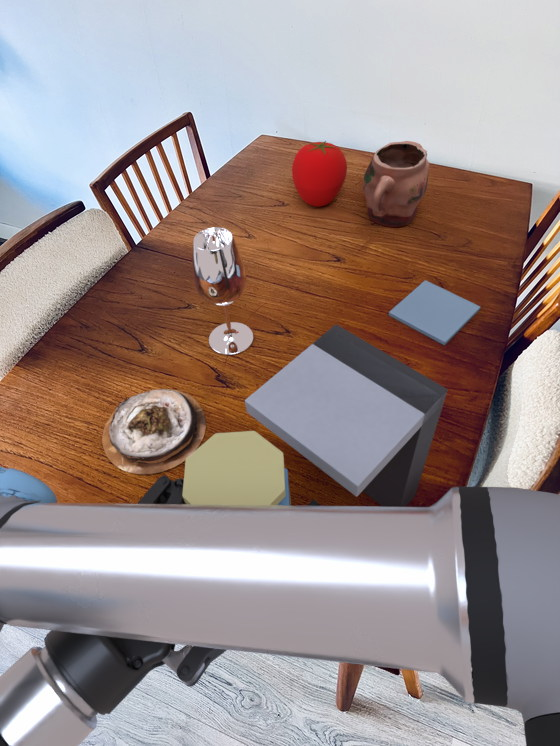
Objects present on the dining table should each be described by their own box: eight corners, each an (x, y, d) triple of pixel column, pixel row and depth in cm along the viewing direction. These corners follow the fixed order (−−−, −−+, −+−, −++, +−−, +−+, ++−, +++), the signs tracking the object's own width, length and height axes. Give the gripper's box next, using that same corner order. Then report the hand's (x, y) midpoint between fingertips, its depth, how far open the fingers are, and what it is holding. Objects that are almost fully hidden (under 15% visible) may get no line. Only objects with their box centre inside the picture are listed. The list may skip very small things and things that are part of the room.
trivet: (479, 310, 88) (480, 306, 88) (444, 345, 84) (445, 342, 83) (424, 283, 94) (425, 279, 93) (388, 315, 89) (388, 312, 88)
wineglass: (263, 336, 87) (252, 234, 72) (231, 363, 84) (212, 263, 68) (230, 316, 91) (213, 216, 76) (198, 342, 87) (173, 242, 72)
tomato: (286, 212, 111) (283, 154, 101) (300, 186, 118) (298, 129, 108) (338, 218, 108) (340, 159, 99) (349, 191, 115) (352, 133, 105)
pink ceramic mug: (405, 254, 99) (416, 187, 89) (345, 240, 103) (348, 175, 93) (431, 200, 111) (443, 135, 100) (376, 190, 115) (382, 126, 104)
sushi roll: (208, 387, 81) (204, 369, 77) (201, 472, 71) (196, 456, 68) (114, 392, 81) (106, 375, 78) (94, 477, 71) (84, 462, 68)
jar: (279, 608, 49) (266, 544, 37) (192, 575, 51) (155, 507, 40) (309, 521, 54) (306, 442, 43) (230, 495, 57) (207, 415, 45)
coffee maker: (415, 495, 67) (447, 389, 50) (346, 577, 61) (358, 486, 44) (331, 435, 74) (335, 323, 57) (262, 503, 67) (244, 400, 51)
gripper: (24, 596, 47) (211, 437, 57) (170, 807, 37) (367, 569, 47) (-17, 565, 41) (199, 395, 51) (143, 806, 31) (374, 534, 41)
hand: (279, 478), depth 49 cm, fingers closed on jar, 8 cm apart
